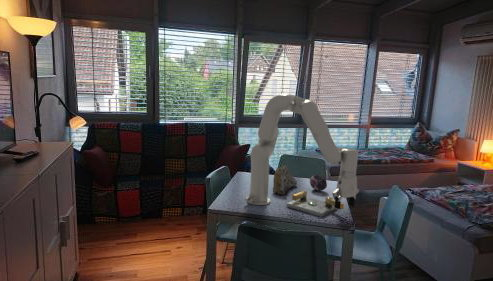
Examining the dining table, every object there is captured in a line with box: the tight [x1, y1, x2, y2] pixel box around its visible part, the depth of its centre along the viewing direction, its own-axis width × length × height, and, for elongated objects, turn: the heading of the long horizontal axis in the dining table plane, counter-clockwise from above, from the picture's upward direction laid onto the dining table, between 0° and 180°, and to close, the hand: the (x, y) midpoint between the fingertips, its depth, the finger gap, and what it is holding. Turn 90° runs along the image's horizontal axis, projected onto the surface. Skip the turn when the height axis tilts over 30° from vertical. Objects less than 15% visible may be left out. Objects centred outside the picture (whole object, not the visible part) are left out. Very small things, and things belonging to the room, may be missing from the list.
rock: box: [272, 164, 298, 196], centre depth 202 cm, size 27×10×15 cm, turn 153°
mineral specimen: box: [309, 173, 328, 191], centre depth 204 cm, size 10×10×10 cm
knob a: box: [291, 190, 308, 201], centre depth 178 cm, size 11×4×4 cm, turn 140°
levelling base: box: [286, 196, 338, 218], centre depth 173 cm, size 17×20×3 cm
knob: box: [324, 196, 345, 210], centre depth 168 cm, size 11×4×4 cm, turn 27°
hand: (344, 207), depth 167 cm, fingers open, 9 cm apart
